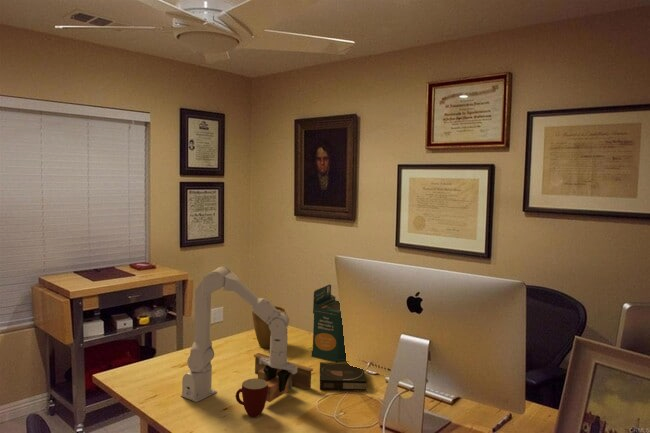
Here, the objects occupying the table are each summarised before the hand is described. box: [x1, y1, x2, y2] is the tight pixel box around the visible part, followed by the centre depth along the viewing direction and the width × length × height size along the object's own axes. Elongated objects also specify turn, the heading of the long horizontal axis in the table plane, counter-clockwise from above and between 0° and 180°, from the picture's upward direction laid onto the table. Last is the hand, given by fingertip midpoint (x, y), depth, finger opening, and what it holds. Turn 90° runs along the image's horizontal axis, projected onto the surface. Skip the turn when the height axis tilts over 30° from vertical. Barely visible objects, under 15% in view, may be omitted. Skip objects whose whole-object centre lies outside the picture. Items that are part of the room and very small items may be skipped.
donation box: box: [310, 284, 347, 363], centre depth 207 cm, size 16×16×28 cm
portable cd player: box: [319, 361, 367, 392], centre depth 182 cm, size 16×17×4 cm
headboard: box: [253, 352, 314, 391], centre depth 178 cm, size 8×25×7 cm, turn 58°
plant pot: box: [251, 305, 287, 349], centre depth 216 cm, size 15×15×16 cm
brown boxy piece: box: [266, 373, 293, 403], centre depth 164 cm, size 12×4×6 cm, turn 148°
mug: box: [235, 378, 268, 418], centre depth 154 cm, size 10×8×10 cm
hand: (277, 389), depth 164 cm, fingers closed on brown boxy piece, 3 cm apart
